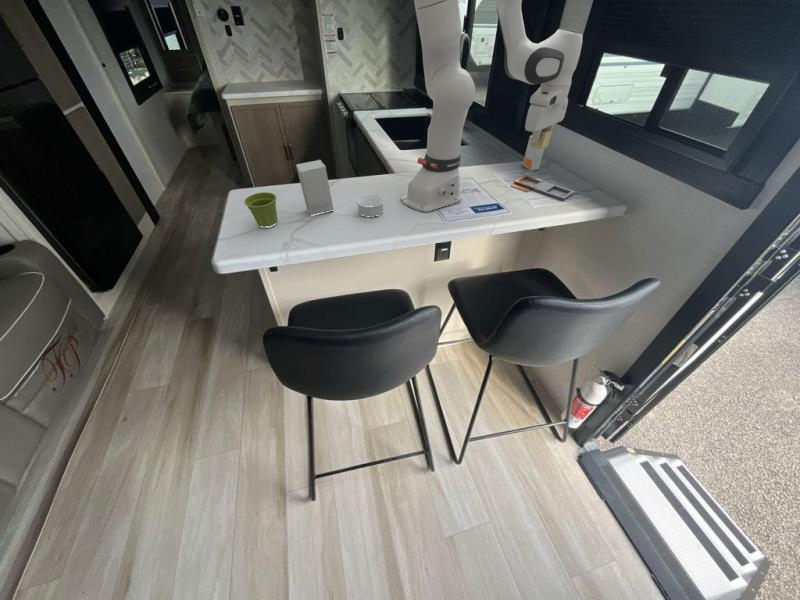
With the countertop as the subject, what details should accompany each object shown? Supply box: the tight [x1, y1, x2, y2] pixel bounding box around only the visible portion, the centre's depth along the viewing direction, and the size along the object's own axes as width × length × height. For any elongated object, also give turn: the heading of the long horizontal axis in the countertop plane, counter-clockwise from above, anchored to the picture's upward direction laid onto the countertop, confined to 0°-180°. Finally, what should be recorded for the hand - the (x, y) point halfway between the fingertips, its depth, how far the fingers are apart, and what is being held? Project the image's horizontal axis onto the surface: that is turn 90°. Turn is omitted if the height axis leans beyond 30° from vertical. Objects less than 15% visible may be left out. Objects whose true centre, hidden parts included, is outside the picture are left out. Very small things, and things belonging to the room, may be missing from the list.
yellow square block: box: [530, 128, 553, 149], centre depth 113 cm, size 4×4×6 cm
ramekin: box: [356, 194, 384, 217], centre depth 108 cm, size 9×9×4 cm
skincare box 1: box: [295, 159, 334, 216], centre depth 105 cm, size 8×7×16 cm
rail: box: [510, 174, 575, 202], centre depth 120 cm, size 11×20×1 cm, turn 43°
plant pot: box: [243, 191, 279, 227], centre depth 101 cm, size 9×9×9 cm
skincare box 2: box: [522, 135, 546, 171], centre depth 132 cm, size 6×4×12 cm
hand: (540, 140), depth 113 cm, fingers closed on yellow square block, 4 cm apart
